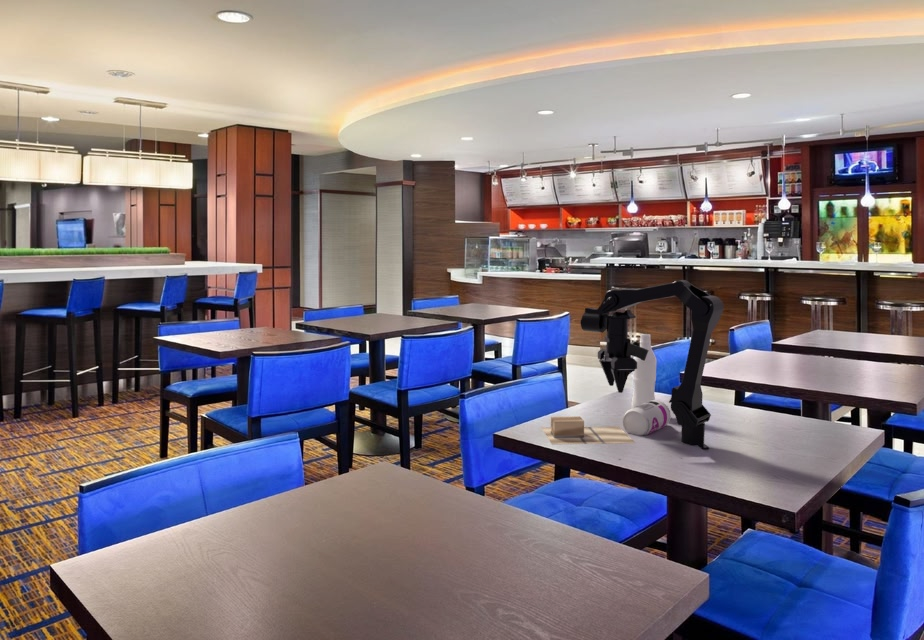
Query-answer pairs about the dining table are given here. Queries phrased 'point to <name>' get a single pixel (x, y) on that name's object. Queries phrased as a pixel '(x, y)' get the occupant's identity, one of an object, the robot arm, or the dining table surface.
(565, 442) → the board
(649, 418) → the supplement can
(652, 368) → the water bottle
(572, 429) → the block
